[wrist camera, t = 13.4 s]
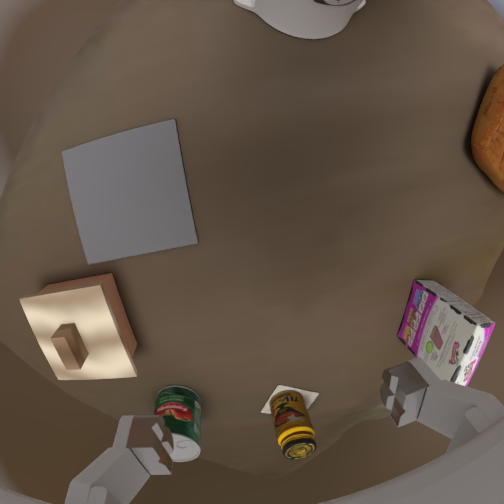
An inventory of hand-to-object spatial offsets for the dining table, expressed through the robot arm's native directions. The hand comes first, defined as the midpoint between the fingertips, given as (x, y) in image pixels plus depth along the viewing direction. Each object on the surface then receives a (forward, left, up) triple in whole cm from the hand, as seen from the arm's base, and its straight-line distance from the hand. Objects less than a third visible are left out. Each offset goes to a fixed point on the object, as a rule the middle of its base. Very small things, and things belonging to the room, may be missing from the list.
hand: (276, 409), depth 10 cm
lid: (+10, -24, -25) cm, 36 cm away
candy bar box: (+20, +28, -31) cm, 47 cm away
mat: (-6, -13, -31) cm, 34 cm away
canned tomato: (+29, -15, -31) cm, 45 cm away
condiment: (+34, +4, -31) cm, 46 cm away
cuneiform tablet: (-10, +50, -31) cm, 60 cm away
